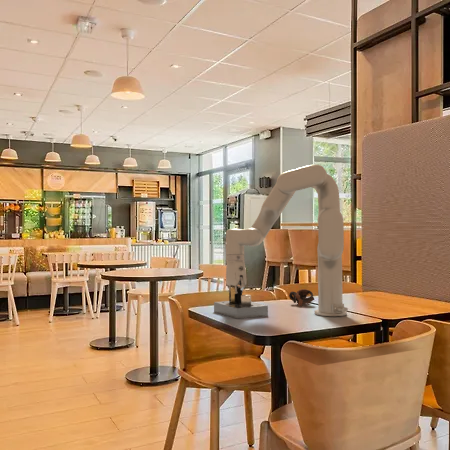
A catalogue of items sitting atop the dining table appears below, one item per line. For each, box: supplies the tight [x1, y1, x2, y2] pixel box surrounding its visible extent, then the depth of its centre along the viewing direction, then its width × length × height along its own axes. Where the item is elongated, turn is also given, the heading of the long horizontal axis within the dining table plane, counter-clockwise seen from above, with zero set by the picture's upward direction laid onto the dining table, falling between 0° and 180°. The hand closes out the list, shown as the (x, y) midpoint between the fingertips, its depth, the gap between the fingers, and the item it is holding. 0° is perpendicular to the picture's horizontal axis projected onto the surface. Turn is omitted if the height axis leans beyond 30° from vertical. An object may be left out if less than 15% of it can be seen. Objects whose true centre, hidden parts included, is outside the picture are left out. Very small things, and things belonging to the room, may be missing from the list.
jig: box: [213, 294, 269, 320], centre depth 192 cm, size 20×14×8 cm
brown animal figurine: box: [288, 288, 315, 307], centre depth 216 cm, size 12×10×8 cm
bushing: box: [231, 286, 239, 304], centre depth 196 cm, size 4×4×8 cm
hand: (235, 302), depth 196 cm, fingers closed on bushing, 4 cm apart
